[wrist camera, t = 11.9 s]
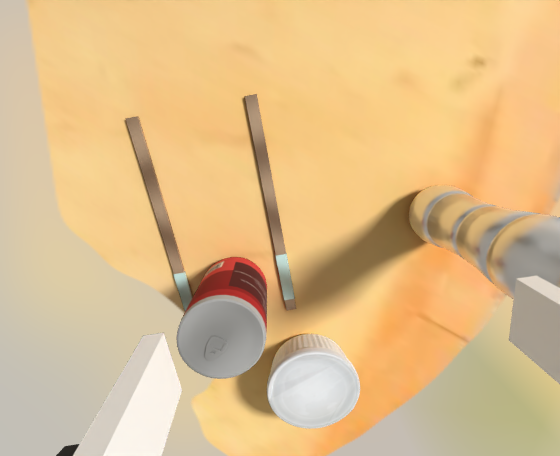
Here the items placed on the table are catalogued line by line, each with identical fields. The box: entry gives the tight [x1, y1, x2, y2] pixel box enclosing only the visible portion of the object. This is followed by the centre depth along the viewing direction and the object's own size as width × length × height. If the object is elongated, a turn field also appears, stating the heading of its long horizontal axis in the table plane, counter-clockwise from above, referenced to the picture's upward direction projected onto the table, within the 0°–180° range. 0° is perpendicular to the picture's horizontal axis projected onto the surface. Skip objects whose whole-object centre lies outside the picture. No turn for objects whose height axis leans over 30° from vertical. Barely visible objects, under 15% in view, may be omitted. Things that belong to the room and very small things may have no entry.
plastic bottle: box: [409, 185, 560, 299], centre depth 26 cm, size 6×7×20 cm
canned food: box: [177, 257, 267, 379], centre depth 31 cm, size 8×8×11 cm
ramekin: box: [267, 334, 360, 428], centre depth 38 cm, size 11×11×5 cm
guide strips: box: [126, 94, 296, 311], centre depth 35 cm, size 27×14×1 cm, turn 10°
